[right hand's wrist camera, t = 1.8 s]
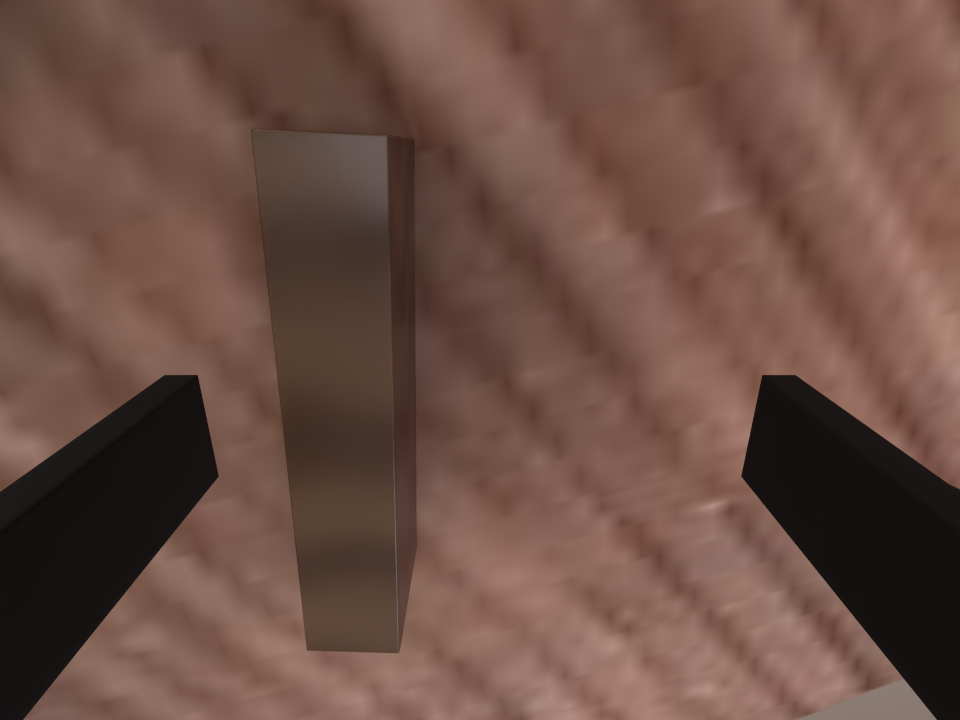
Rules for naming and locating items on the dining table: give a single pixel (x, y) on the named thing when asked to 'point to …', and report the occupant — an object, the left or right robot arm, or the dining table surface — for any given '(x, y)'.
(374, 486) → the bar
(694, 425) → the dining table surface
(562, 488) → the dining table surface
